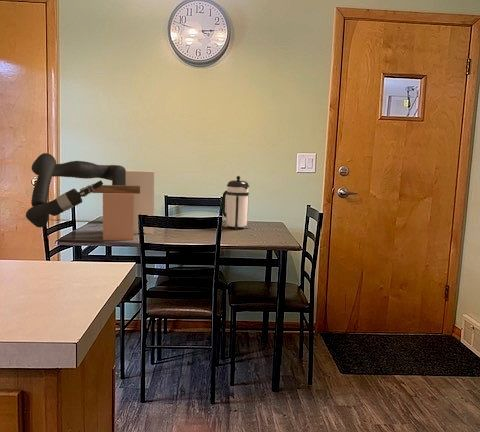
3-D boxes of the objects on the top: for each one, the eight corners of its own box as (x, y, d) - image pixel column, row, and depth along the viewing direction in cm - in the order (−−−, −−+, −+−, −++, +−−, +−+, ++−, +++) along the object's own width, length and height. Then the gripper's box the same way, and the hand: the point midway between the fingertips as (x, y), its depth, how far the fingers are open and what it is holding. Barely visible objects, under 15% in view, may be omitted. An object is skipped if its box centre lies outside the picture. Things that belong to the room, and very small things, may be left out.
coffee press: (250, 226, 264) (252, 175, 260) (248, 231, 248) (250, 177, 244) (221, 224, 266) (223, 174, 261) (217, 229, 250) (219, 175, 246)
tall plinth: (126, 230, 237) (126, 170, 232) (152, 230, 240) (153, 170, 235) (125, 233, 227) (125, 171, 222) (153, 233, 230) (154, 171, 225)
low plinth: (104, 236, 220) (104, 191, 217) (133, 235, 223) (133, 192, 220) (103, 240, 210) (102, 193, 207) (133, 239, 213) (133, 194, 210)
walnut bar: (92, 192, 212) (92, 184, 212) (139, 192, 217) (139, 185, 217) (92, 192, 209) (91, 185, 208) (139, 193, 214) (140, 186, 213)
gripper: (62, 194, 201) (96, 176, 203) (67, 191, 215) (98, 174, 217) (71, 208, 203) (104, 191, 205) (75, 204, 217) (106, 188, 219)
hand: (101, 182), depth 211 cm, fingers open, 6 cm apart
